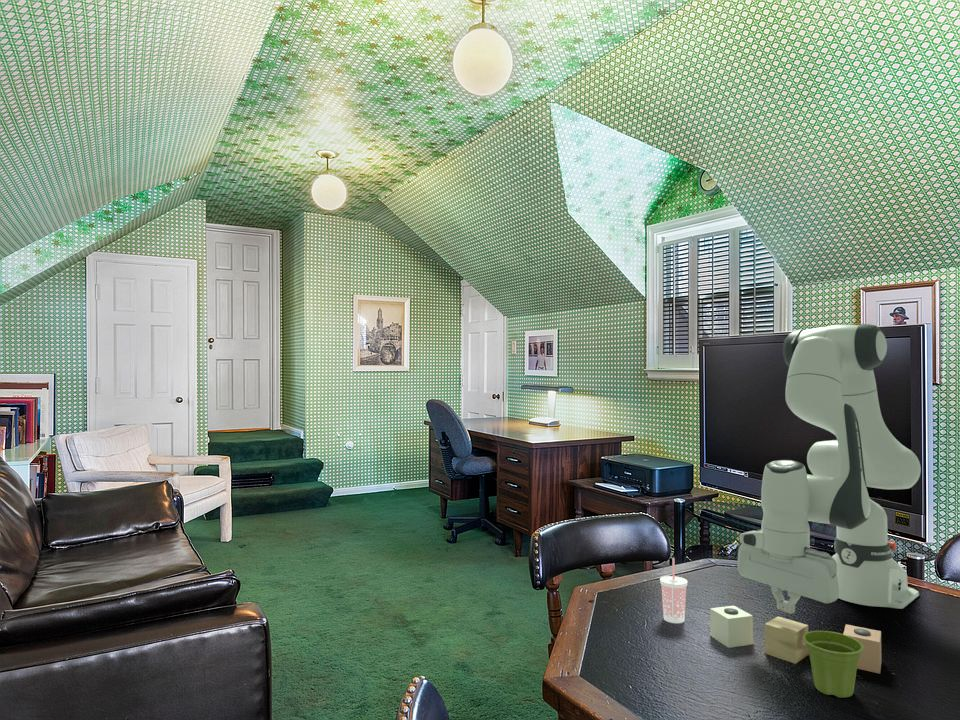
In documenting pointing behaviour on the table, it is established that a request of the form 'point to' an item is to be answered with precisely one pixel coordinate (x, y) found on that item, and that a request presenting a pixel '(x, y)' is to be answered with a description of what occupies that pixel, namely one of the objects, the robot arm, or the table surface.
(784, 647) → the oak block
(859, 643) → the plant pot
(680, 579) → the beverage cup
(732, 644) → the dot block cream
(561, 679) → the table surface
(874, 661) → the dot block tan
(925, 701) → the table surface
